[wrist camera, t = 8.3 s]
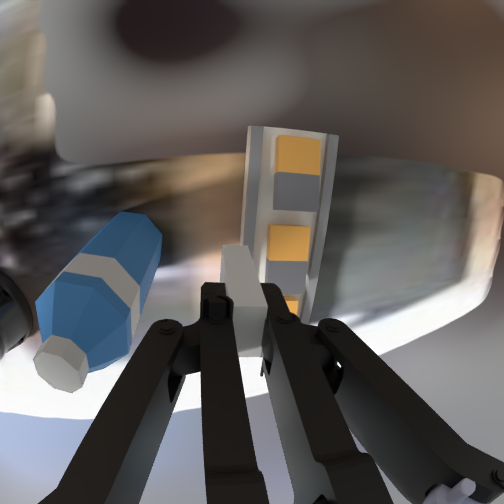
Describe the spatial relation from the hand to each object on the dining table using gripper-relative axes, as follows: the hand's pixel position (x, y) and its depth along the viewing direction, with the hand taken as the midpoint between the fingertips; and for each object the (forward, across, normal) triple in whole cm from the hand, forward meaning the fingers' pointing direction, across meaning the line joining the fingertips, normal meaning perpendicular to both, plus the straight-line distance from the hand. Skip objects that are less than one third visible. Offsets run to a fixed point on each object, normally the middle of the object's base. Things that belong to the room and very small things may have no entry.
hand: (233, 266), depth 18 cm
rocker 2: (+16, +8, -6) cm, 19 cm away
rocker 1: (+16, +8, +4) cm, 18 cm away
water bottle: (+22, -12, -8) cm, 26 cm away
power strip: (+22, +8, -6) cm, 24 cm away
